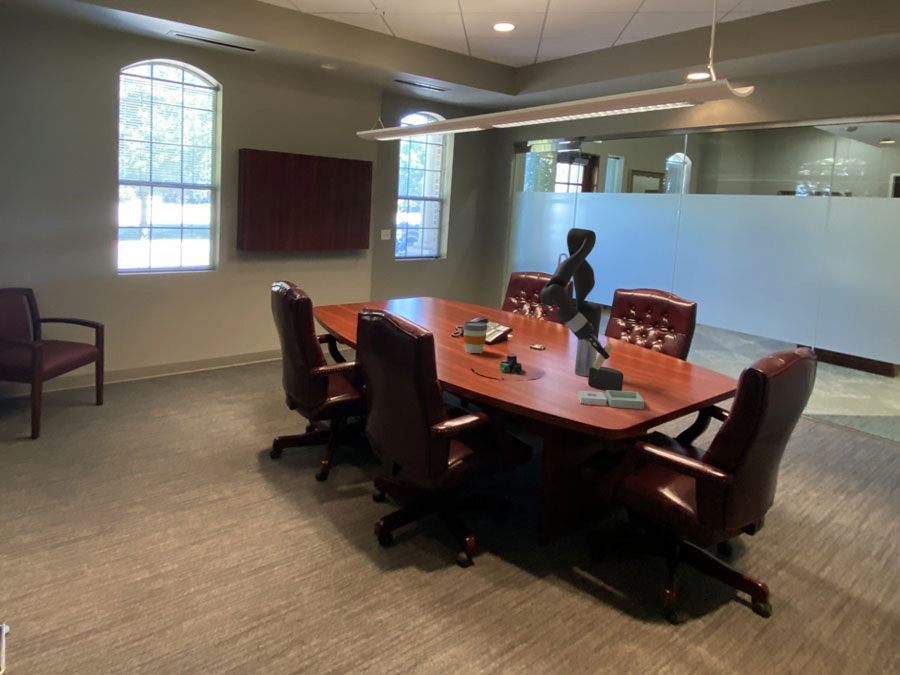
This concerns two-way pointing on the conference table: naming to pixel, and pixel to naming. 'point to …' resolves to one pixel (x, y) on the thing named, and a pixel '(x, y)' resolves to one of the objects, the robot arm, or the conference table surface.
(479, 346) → the reusable coffee cup
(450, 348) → the conference table surface
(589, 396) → the cover plate
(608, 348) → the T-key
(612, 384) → the leaning round-cornered charcoal block
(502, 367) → the mineral sample
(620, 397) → the tray
